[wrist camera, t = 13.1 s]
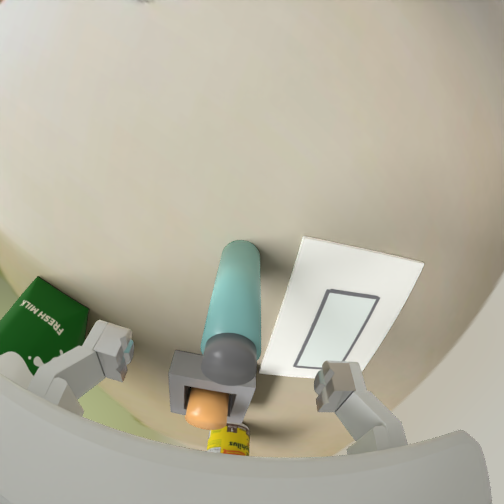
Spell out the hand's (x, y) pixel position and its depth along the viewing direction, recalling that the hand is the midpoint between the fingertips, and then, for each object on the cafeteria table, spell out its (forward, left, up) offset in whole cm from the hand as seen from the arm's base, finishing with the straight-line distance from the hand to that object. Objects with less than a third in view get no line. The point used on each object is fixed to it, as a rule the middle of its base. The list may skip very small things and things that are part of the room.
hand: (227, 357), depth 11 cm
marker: (+1, 0, -10) cm, 10 cm away
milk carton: (+12, -18, -11) cm, 24 cm away
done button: (+16, 0, -8) cm, 18 cm away
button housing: (+16, 0, -10) cm, 19 cm away
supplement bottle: (+28, +3, -11) cm, 30 cm away
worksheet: (+6, +10, -10) cm, 15 cm away
